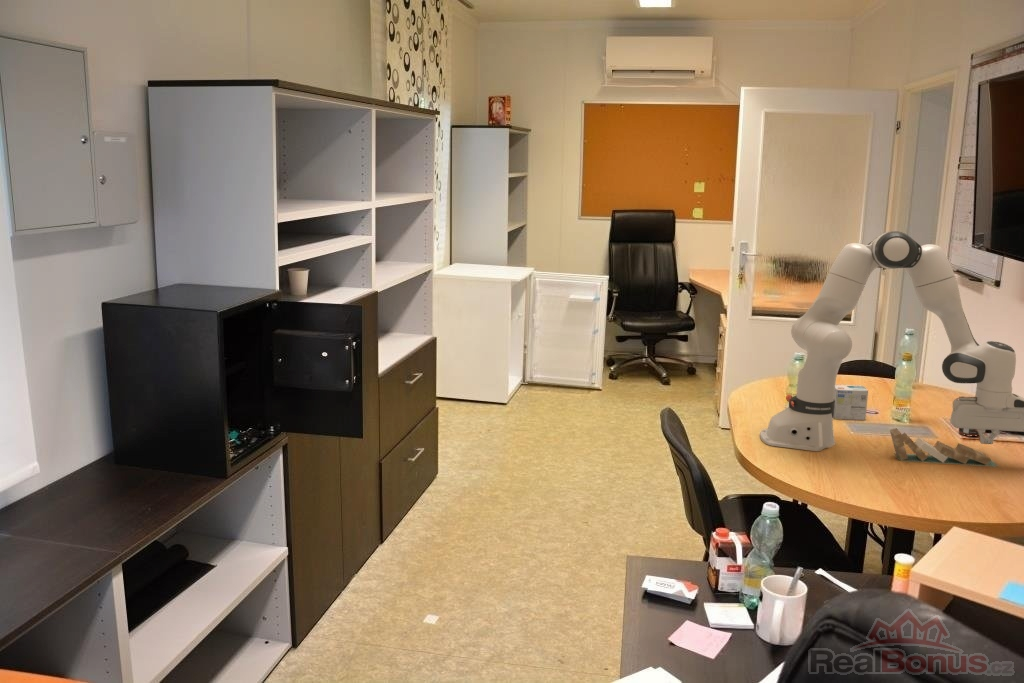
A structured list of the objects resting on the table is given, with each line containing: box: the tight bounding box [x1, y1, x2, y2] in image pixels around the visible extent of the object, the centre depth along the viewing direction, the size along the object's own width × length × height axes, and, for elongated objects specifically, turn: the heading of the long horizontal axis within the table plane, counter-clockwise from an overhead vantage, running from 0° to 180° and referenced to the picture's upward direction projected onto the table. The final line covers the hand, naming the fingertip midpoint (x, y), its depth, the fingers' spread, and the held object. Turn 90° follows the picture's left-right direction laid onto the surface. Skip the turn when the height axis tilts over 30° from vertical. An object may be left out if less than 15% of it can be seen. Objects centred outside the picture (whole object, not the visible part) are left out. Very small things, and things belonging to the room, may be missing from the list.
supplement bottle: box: [958, 428, 980, 436], centre depth 261 cm, size 6×6×11 cm
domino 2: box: [901, 432, 928, 463], centre depth 239 cm, size 2×5×8 cm
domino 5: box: [954, 443, 992, 465], centre depth 237 cm, size 2×5×8 cm
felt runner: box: [893, 452, 999, 468], centre depth 239 cm, size 27×6×1 cm, turn 80°
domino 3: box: [913, 437, 948, 464], centre depth 239 cm, size 2×5×8 cm
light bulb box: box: [833, 384, 869, 421], centre depth 278 cm, size 11×7×11 cm, turn 84°
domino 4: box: [933, 440, 969, 464], centre depth 238 cm, size 2×5×8 cm
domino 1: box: [889, 427, 908, 460], centre depth 240 cm, size 2×5×8 cm, turn 169°
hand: (986, 443), depth 236 cm, fingers closed
